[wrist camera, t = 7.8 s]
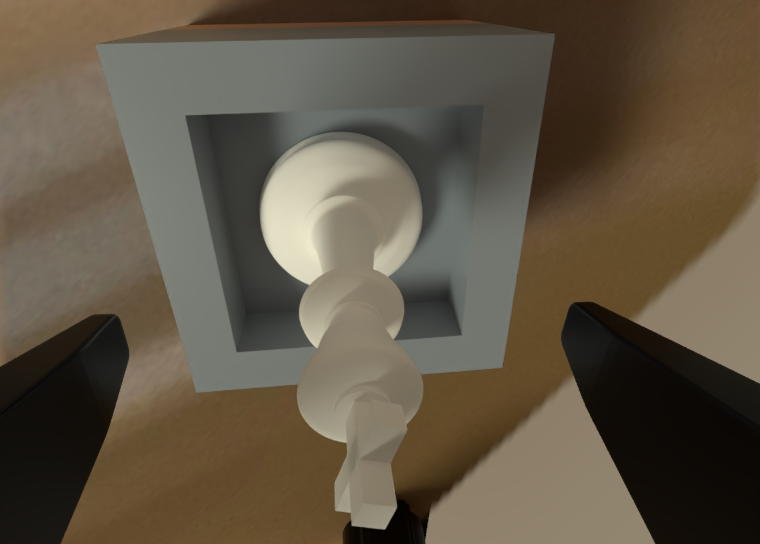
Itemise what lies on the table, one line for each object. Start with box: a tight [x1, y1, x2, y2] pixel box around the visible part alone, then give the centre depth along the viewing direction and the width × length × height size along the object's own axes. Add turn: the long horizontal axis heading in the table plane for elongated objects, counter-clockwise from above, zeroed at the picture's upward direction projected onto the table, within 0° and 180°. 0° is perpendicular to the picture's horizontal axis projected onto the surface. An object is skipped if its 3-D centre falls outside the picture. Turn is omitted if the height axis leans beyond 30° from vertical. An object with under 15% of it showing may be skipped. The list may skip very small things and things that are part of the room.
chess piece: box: [259, 132, 423, 529], centre depth 10 cm, size 5×5×10 cm
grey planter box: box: [96, 20, 555, 393], centre depth 16 cm, size 10×10×8 cm
